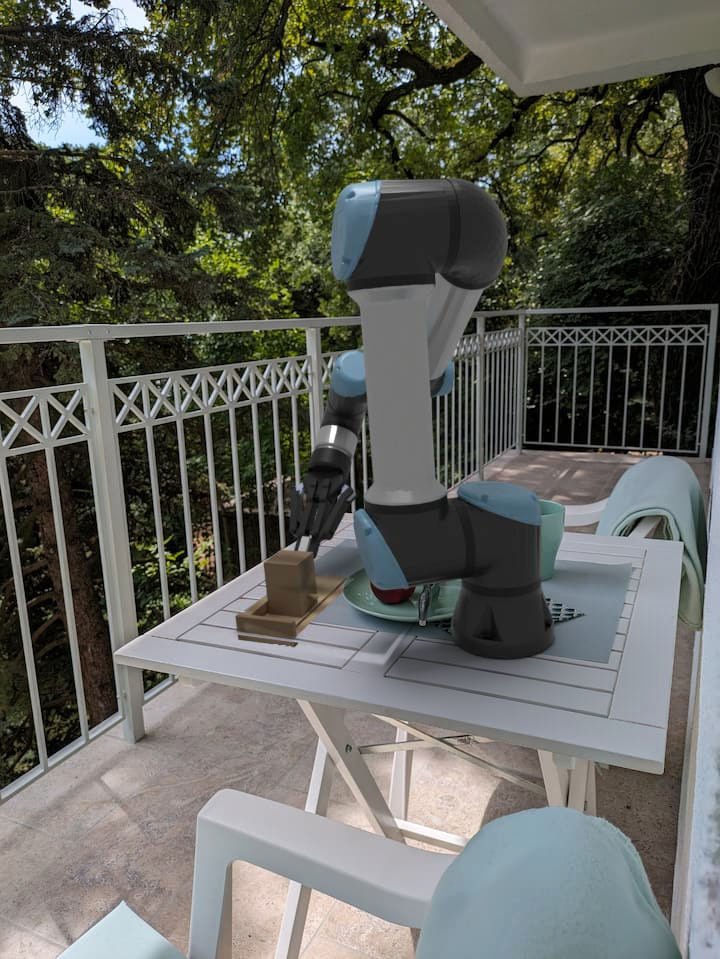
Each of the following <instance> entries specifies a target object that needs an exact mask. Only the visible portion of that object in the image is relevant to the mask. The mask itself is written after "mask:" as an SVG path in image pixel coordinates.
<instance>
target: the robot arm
mask: <svg viewBox="0 0 720 959" xmlns="http://www.w3.org/2000/svg"><path fill="white" fill-rule="evenodd" d="M336 200H337V201H336V203H335V208H334V212H333V219H332V224H331V225H332V226H331V236H330V262H331V264H332V265H331V268H332V274H333V276H334V278H335V279H337V280H338V281H341V282H344V281H346V292H347V295H348V297H349V298H351V299H352V300H353V301H354V302H355V303H356V304H357V305H358V307H359V310H360V323H361V335H362V336H361V337H362V339H361V340H362V347H363V348H362V349H363V351H362V352H361V351H359V350H348V351H346V352H344V353H343V354H341V355H339V356H338V358H337V359H336V360H335V362H334V366H333V368H332V371H331V374H330V380H329V390H328V394H327V399H326V404H325V409H324V413H323V416H322V419H321V423H320V427H319V430H318V433H317V436H316V439H315V442H314V446H313V451H312V453H311V456H310V459H309V463H308V466H307V473H306V475H305V476H304V477H303V479H302V481H301V483H299V484H297V485H295V484H294V483H293V484H290V485H289V486H288V490H289V493H290V496H291V498H290V510H289V512H290V513H289V515H290V516H289V532H290V533H291V535H293V536H294V538H296V542H295V545H294V548H293V551H305V552H313V556H314V560H316V557H317V556H318V552H319V548H320V545H321V543H322V542H323V541H326V540H327V541H331V540H333V538H334V536H335V534H336V532H337V530H338V529H339V526H340V524H341V523H342V520H343V519H344V516H345V515H346V513H347V510H348V509H349V507H350V505H351V504H352V503H353V502H354V501H355V500H356V499H357V498H358V495H357V493H356V492H355V490H354V489H353V487H352V486H349V485H348V478H349V474H350V472H351V468H352V465H353V463H352V461H353V459H354V456H355V452H356V449H357V444H358V441H359V435H360V432H361V429H362V425H363V424H364V423H363V422H364V419H365V416H366V412H367V414H368V428H369V429H368V430H369V439H370V442H369V444H370V452H371V468H372V479H373V480H372V482H373V483H372V484H371V486H369V488H367V490H366V492H364V494H363V503H364V508H359V509H358V510H356V511H355V512H354V513H353V515H352V518H353V531H354V536H355V540H356V545H357V549H358V552H359V556H360V558H361V563H362V565H363V567H364V571H365V573H366V575H367V577H368V578H369V581H370V583H372V585H373V586H374V587H375V588H377V589H379V590H382V591H388V590H389V591H390V590H396V589H397V590H398V589H400V590H401V589H404V590H408V589H409V588H415V587H420V586H427V585H433V584H438V583H444V582H452V581H457V580H461V582H460V583H461V586H460V591H459V594H458V597H457V599H456V603H455V607H454V611H453V614H452V617H451V621H450V622H451V623H450V626H451V638H452V640H453V642H454V644H456V645H457V646H458V647H459V648H461V649H463V650H464V651H466V652H468V653H470V654H474V655H477V656H480V657H486V658H491V659H518V658H519V659H521V658H526V657H531V656H533V655H537V654H539V653H541V652H543V651H545V650H547V648H549V647H551V645H552V643H553V642H554V641H555V622H554V618H553V616H552V613H551V610H550V607H549V605H548V602H547V599H546V596H545V593H544V590H543V587H542V526H543V522H544V521H543V519H542V510H541V501H540V499H539V497H538V495H537V494H536V493H535V492H534V491H532V490H531V489H529V488H527V487H525V486H521V485H518V484H512V483H509V482H503V481H492V480H477V481H476V480H474V481H467V482H465V483H461V484H460V485H459V486H458V488H457V490H456V496H455V497H450V498H449V497H448V489H447V488H446V487H445V486H444V485H443V484H442V483H441V482H440V481H439V480H437V478H436V470H435V469H436V468H435V449H434V436H433V435H434V434H433V431H434V430H433V418H432V417H433V415H432V400H431V399H433V398H435V397H441V396H446V395H448V394H450V393H451V391H452V390H453V389H454V381H455V367H454V364H453V362H452V360H451V359H452V357H453V355H454V353H455V351H456V349H457V347H458V346H459V343H460V341H461V339H462V336H463V334H464V331H465V330H466V328H467V327H468V323H469V321H470V319H471V317H472V315H473V313H474V311H475V308H476V307H477V305H478V302H479V300H480V298H481V296H482V294H483V292H484V290H486V289H488V288H490V287H491V286H492V285H493V284H494V283H495V281H496V280H497V278H498V277H499V274H500V273H501V270H502V268H503V266H504V264H505V261H506V257H507V251H508V247H509V246H508V243H509V242H508V230H507V225H506V222H505V217H504V216H503V213H502V211H501V209H500V207H499V205H498V204H497V202H496V201H495V200H494V199H493V197H492V196H491V195H490V194H489V193H488V192H487V191H486V190H485V189H483V188H482V187H481V186H479V185H477V184H475V183H474V182H472V181H469V180H466V179H463V178H458V177H457V178H456V177H445V178H440V179H434V178H432V179H429V178H428V179H425V178H424V179H380V180H379V179H375V180H373V181H365V182H359V183H357V182H356V183H351V184H349V185H347V186H345V187H344V188H343V189H342V191H341V192H340V193H339V194H338V198H337V199H336ZM304 492H306V500H305V501H306V503H305V506H304V510H303V503H304V502H303V497H304V496H305V495H304ZM336 499H337V500H336ZM335 501H336V502H335ZM334 503H335V504H334Z"/></svg>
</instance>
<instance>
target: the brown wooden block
mask: <svg viewBox="0 0 720 959" xmlns="http://www.w3.org/2000/svg"><path fill="white" fill-rule="evenodd" d="M315 568H316V567H315V559H314V556H313V552H305V551H294V550H288V549H280V550H278V551H277V552H276V553H275V554H273V555H271V557H269V558H268V559H266V560H265V561H263V570H264V571H263V572H264V579H265V580H264V582H265V590H266V594H267V600H268V609H269V614H272V615H281V616H289V617H298V618H302V617H303V616H304V615H306V614H307V613H308V612H309V611H310V610H311V609H312V608H313V607H314V606H315V605H316V604H317V603H318V600H317V599H318V598H319V595H318V594H317V589H316V578H315V575H316V569H315Z"/></svg>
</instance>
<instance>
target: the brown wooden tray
mask: <svg viewBox="0 0 720 959" xmlns="http://www.w3.org/2000/svg"><path fill="white" fill-rule="evenodd" d="M315 578H316V589H317V594H318V595H319V598H318V599H317V600H318V603H317V604H316V605H315V606H314V607H313V608H312V609H311V610H310V611H309V612H308V613H307V614H306V615H304V616H303V617H302V618H298V617H289V616H281V615H272V614H269V609H268V600H267V593H266V594H265V595H263V596H262V597H261V598H260V599H259V600H258V601H256V602H255V603H254V604H253V605H251V606H250V607H249V608H248V609H246V610H245V611H244V612H243V613H236V615H235V616H234V617H235V625H236V631H237V632H241V633H248V634H256V635H263V636H272V637H277V638H278V637H279V638H286V639H292V640H293V639H295V638H296V637H297V636H298V635H299V634H300V633H301V632H303V631H304V630H305V628H307V627H308V625H309V624H311V623H312V622H313V621H314V620H315V618H317V617H318V616H319V615H320V614H321V613H322V612H323V611H324V610H325V609H326V608H327V607H328V606H330V604H331V603H332V602H333V601H334V600H335V599H336V598H337V597H338V596H339V595H340V594H342V592H343V591H344V590H343V586H344V583H345V581H346V580H347V579H348V578H349V577H347V576H346V577H345V576H344V577H343V576H336V575H334V576H333V575H325V574H315ZM237 639H238V640H240V641H245V642H246V641H247V642H252V643H253V642H255V643H261V644H266V643H267V645H273V644H278V645H277V646H281V645H286V646H285V647H288V646H291V647H290V648H296V647H297V646H298V645H299V644H298V643H299V642H297V641H296V642H295V641H290V640H289V641H287V640H282V639H276V638H275V639H274V638H268V637H267V638H266V637H258V636H251V635H243V634H237ZM297 644H298V645H297ZM296 645H297V646H296ZM295 646H296V647H295Z"/></svg>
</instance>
